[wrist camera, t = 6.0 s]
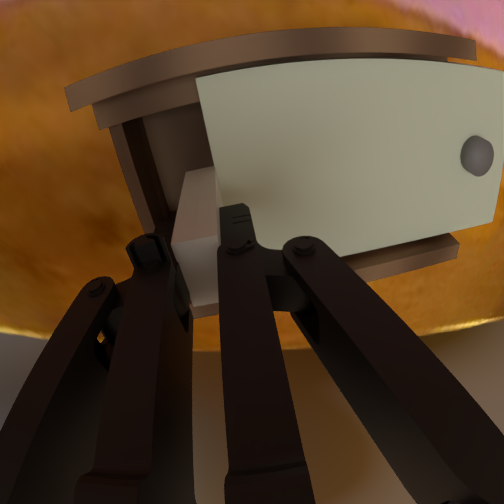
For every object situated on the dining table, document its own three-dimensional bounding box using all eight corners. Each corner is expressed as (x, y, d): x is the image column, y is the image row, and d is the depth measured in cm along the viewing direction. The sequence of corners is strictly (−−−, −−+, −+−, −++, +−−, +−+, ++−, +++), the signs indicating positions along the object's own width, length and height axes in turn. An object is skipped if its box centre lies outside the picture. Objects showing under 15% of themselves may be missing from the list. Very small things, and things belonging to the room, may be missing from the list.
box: (171, 236, 27) (158, 324, 19) (122, 73, 19) (64, 87, 11) (392, 193, 27) (456, 258, 19) (386, 36, 19) (475, 40, 11)
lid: (237, 259, 20) (241, 286, 18) (197, 76, 14) (194, 79, 11) (478, 210, 20) (498, 227, 18) (490, 68, 14) (517, 75, 12)
